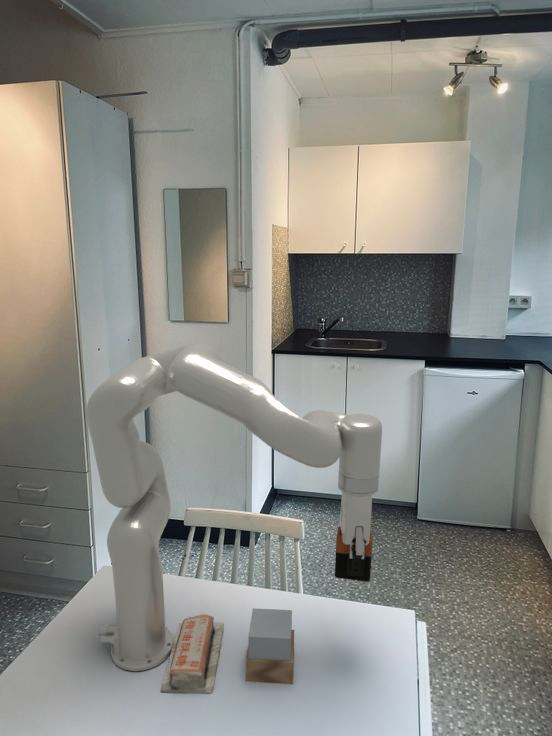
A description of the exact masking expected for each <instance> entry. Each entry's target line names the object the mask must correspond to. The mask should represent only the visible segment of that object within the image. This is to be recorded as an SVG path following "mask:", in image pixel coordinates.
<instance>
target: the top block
mask: <svg viewBox="0 0 552 736" xmlns="http://www.w3.org/2000/svg"><path fill="white" fill-rule="evenodd" d="M292 617H293V610H292V609H275V608H274V609H273V608H252V611H251V617H250V625H249V630H248V632H249V633H248V643H249V659H259V660H279V661H290V660H291V636H292V630H293V628H292V627H293V618H292Z"/></svg>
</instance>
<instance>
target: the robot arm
mask: <svg viewBox="0 0 552 736" xmlns="http://www.w3.org/2000/svg"><path fill="white" fill-rule="evenodd" d="M176 392H178V393H180V394H181V395H183V396H185V397H187V398H189V399H190V400H193V401H194V402H197V403H200V404H201V405H204V406H206V407H208V408H210V409H213V410H214V411H216V412H218V413H220V414H223V415H224V416H226V417H228V418H230V419H232V420H234V421H236V422H238V423H240V424H242V426H244V427H245V428H246V429H247V430H248V431H249V432H251V434H253V435H254V436H256V437H257V438H258V439H259V440H260V441H262V443H265V444H266V445H267V446H268V447H270V448H271V449H273V450H274V451H276V452H277V453H279V454H280V455H281V454H282V455H283V456H285V457H288V458H290V459H292V460H294V461H295V462H298V463H300V464H303V465H305V466H307V467H311V468H315V469H322V468H323V469H325V468H328V467H330V466H333V465H334V464H336V462H337V461H339V462H338V463H339V464H338V477H337V479H338V480H337V481H338V482H337V483H338V484H337V487H338V490H340V491H341V501H340V512H339V526H340V529H341V536H342V542H343V543H344V544H345V545H347V544H348V545H349V555H348V556H347V575H348V576H363V575H364V563H365V556H364V549H365V545H368V544H369V539H370V529H372V528H371V527H372V526H371V525H372V509H373V508H372V507H373V495H375V494H377V493H378V492H379V487H380V486H379V484H380V483H379V482H380V472H381V471H380V470H381V469H380V468H381V453H382V440H383V439H382V437H383V436H382V435H383V425H382V423H381V421H380V419H378V418H377V417H375V416H373V415H369V414H364V413H362V414H361V413H356V414H354V413H353V414H345V413H338V412H333V411H329V410H328V411H327V410H323V409H322V410H320V409H319V410H318V409H317V410H312V411H309V412H307V413H306V414H304V415H303V417H302V416H301V415H298V414H297V413H295V412H294V411H291V410H290V409H288V408H287V407H286V406H285V405H284V404H282V402H281V401H279V400H278V399H277V397H276V396H275V395H274V394H273V393H272V391H271V390H270V389H269V387H268V386H267V385H266V384H265V383H264V382H263V381H262V380H260V379H258V378H256V377H254V376H252V375H250V374H248V373H246V372H243V371H242V370H239V369H238V368H236V367H233V366H231V365H230V364H228V363H225V362H223V361H222V359H221V356H220V354H219V352H218V351H217V350H216V349H215V348H214V347H213V346H212V345H210V344H207V343H202V342H193V343H189V344H185V345H182V346H179V347H176V348H173V349H168V350H165V351H161V352H157V353H154V354H150V355H147V356H143V357H141V358H138V359H136V360H134V361H132V362H131V363H129V364H128V365H126V366H125V367H124V368H121V369H120V370H118V371H117V372H116V373H114V374H113V375H112V376H110V377H108V379H107V380H105V381H103V382H102V383H101V384H100V385H98V387H97V388H96V389H95V390H94V391H93V392H92V394H91V395H90V397H89V399H88V402H87V404H86V410H85V416H86V417H85V418H86V423H87V426H88V431H89V433H90V439H91V442H92V448H93V454H94V457H95V463H96V466H97V472H98V477H99V482H100V486H101V490H102V493H103V495H104V497H105V499H106V500H107V502H109V504H110V505H112V506H114V507H116V508H121V509H120V511H118V514H117V515H116V517H114V520H113V522H112V523H111V525H110V528H109V530H108V533H107V537H106V546H107V552H108V555H109V559H110V562H111V563H110V564H111V568H112V569H111V571H112V578H113V588H114V599H115V601H114V602H115V614H116V624H115V625H114V626H113V625H112V626H111V625H100V626H99V629H98V636H101V637H100V641H99V642H100V644H111V647H110V656H111V659H112V661H113V663H114V664H115V665H116V666H117V667H119V668H120V669H122V670H126V671H130V672H139V671H147V670H149V669H152V668H155V667H157V666H158V665H160V664H162V663H163V662H165V661H166V660H167V658H169V657H170V655H171V651H172V648H173V644H174V641H175V640H174V636H173V633H172V632H171V630H170V629H169V627H166V617H165V615H166V613H165V596H164V594H165V593H164V578H163V576H164V575H163V564H162V559H161V555H160V552H159V551H160V550H159V545H160V540H161V537H162V535H163V532H164V529H165V528H166V526H167V523H168V521H169V518H170V516H171V509H172V508H171V499H170V494H169V490H168V489H169V487H168V484H167V479H166V474H165V467H164V464H163V461H162V456H161V455H160V454H159V451H158V450H157V449H156V448H155V447H154V446H153V445H152V444H150V443H148V442H146V441H142V440H141V439H140V433H139V430H138V427H137V426H136V424H135V422H134V419H135V418H136V417H137V416H138V415H139V414H141V413H143V412H144V411H146V410H147V409H148V408H149V407H150V406H152V404H154V402H156V401H157V399H159V397H161V396H163V395H164V396H165V395H169V394H171V393H176ZM353 539H355V541H352V540H353ZM353 546H355V549H353Z"/></svg>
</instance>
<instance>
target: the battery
mask: <svg viewBox="0 0 552 736" xmlns="http://www.w3.org/2000/svg"><path fill="white" fill-rule="evenodd" d="M373 536H374V531H373V530H372V528H370V539H369V544H368V545H365V549H364V556H365V563H364V575H363V576H348V575H347V556H348V555H349V545H348V544H347V545H345V544H344V543H343V542H342V536H341V529H340V525H339V526H338V527H337V530H336V538H335V539H336V541H335V543H336V544H335V561H334V577H335V578H336V579H344V580H350V581H351V580H352V581H357V582H358V581H360V582H365V583H368V582H370V581H371V572H372V571H371V570H372V557H373V555H372V554H373V540H374V539H373V538H374V537H373ZM352 541H355V539H353V540H352ZM353 549H355V546H353Z"/></svg>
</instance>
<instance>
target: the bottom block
mask: <svg viewBox="0 0 552 736" xmlns="http://www.w3.org/2000/svg"><path fill="white" fill-rule="evenodd" d="M247 645H248V646H247V652H246V657H245V682H247V683H249V682H251V683H262V684H263V683H266V684H279V685H280V684H284V685H293V681H294V664H295V663H294V661H295V659H294V658H295V629H292V636H291V660H290V661H279V660H259V659H249V642H248V644H247Z"/></svg>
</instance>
